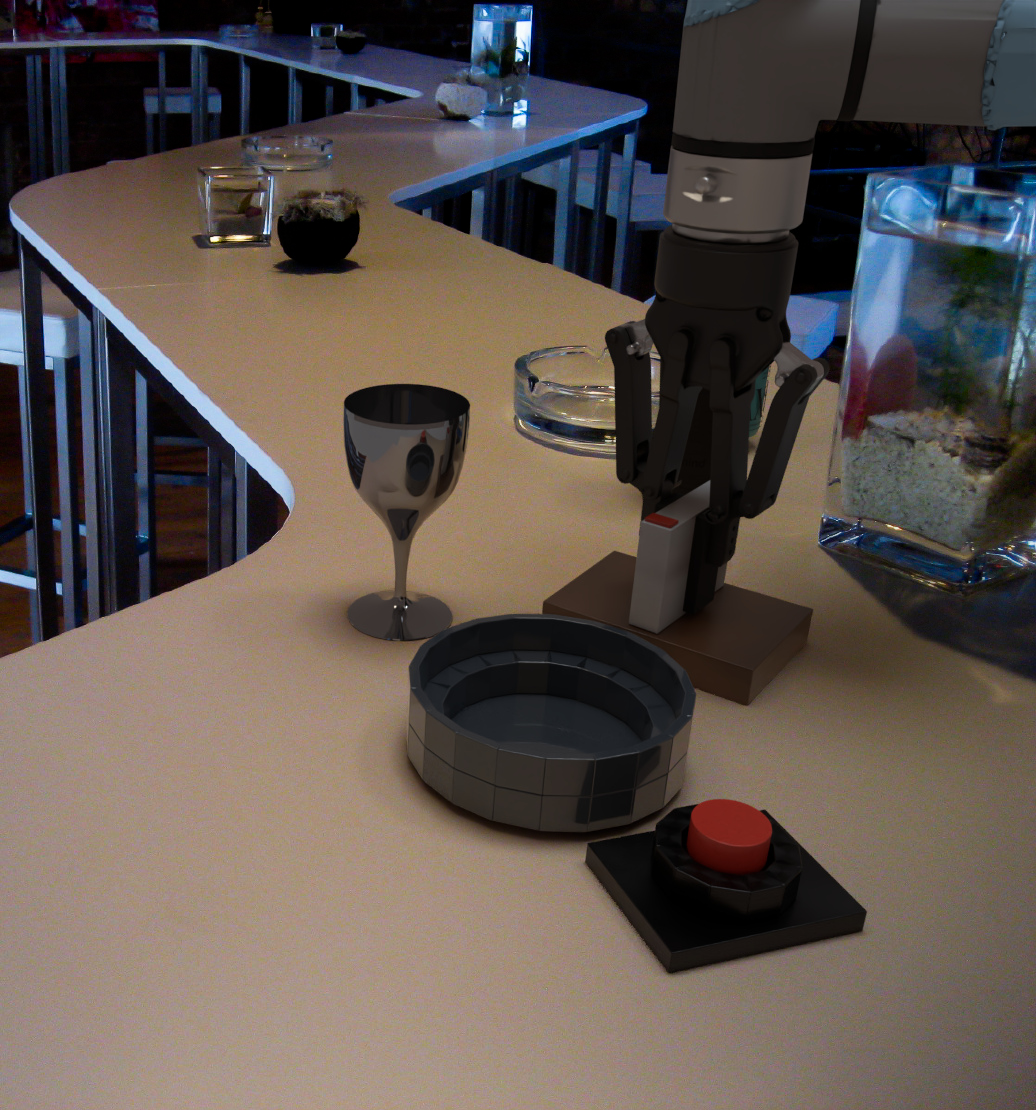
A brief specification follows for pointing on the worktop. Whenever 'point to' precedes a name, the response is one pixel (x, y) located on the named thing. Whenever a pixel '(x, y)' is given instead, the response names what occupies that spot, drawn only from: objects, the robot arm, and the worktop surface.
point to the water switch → (719, 896)
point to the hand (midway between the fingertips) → (678, 598)
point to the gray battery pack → (666, 562)
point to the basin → (549, 721)
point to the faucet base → (697, 628)
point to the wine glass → (404, 489)
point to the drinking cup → (696, 445)
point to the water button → (729, 836)
